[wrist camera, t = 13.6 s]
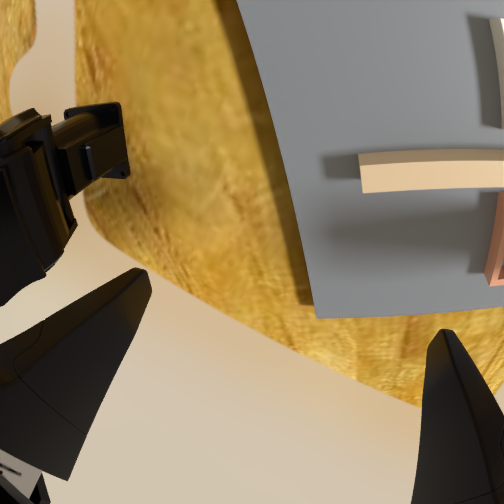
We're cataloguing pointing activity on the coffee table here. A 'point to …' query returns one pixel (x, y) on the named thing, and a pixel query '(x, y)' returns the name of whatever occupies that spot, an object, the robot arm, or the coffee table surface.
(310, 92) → the door board
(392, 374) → the coffee table surface
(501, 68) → the socket
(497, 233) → the socket
